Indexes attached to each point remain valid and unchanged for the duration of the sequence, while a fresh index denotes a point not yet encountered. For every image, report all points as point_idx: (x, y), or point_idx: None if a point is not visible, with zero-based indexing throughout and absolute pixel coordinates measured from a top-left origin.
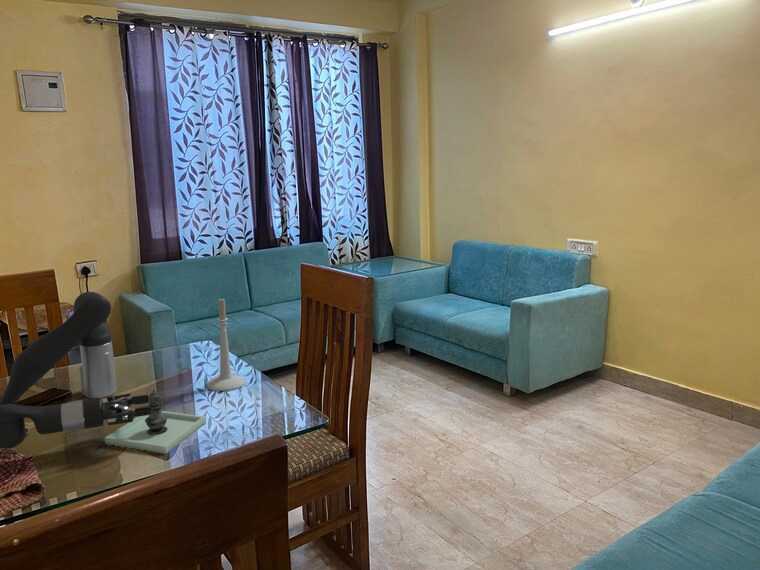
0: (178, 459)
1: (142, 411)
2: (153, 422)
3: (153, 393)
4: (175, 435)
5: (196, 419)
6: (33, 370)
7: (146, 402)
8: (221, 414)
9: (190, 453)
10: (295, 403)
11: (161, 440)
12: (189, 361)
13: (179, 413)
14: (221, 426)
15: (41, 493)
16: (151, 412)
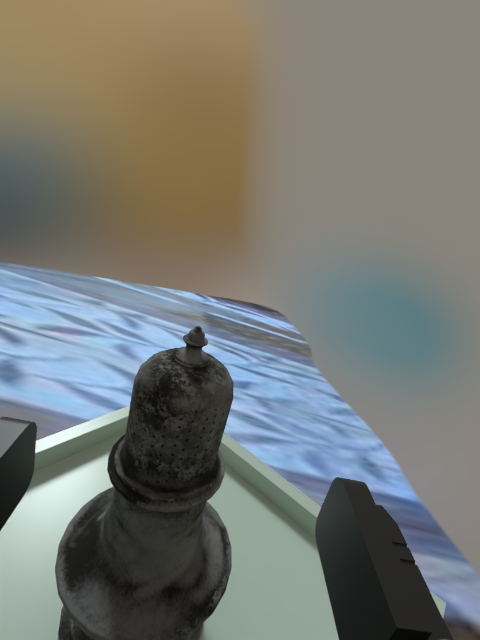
0: (473, 586)
1: (409, 569)
2: (218, 579)
3: (204, 361)
4: (255, 529)
5: None
6: None
7: (21, 496)
8: (126, 368)
9: (413, 527)
10: (178, 294)
11: (297, 615)
12: None
13: (46, 439)
14: None
15: None
16: (184, 529)
